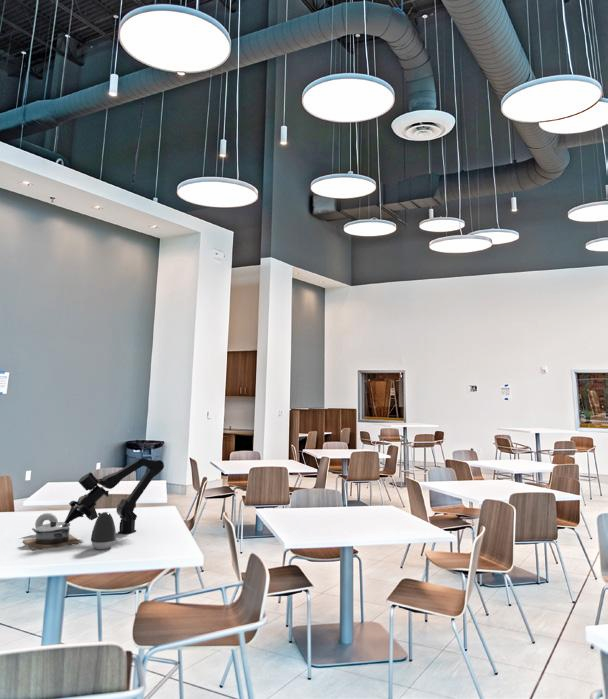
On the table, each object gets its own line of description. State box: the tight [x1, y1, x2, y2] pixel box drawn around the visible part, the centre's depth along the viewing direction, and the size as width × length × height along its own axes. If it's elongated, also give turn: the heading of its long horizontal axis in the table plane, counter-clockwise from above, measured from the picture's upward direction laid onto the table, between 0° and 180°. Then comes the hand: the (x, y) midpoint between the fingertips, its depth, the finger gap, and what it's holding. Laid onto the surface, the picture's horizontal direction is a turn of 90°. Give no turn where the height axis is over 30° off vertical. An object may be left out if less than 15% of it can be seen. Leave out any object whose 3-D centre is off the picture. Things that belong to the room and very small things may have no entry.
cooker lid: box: [31, 521, 71, 534], centre depth 229 cm, size 15×14×3 cm
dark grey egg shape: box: [90, 511, 117, 551], centre depth 221 cm, size 10×10×15 cm
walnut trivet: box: [22, 533, 83, 551], centre depth 229 cm, size 20×20×1 cm
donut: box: [34, 512, 59, 529], centre depth 246 cm, size 10×4×10 cm, turn 110°
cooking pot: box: [35, 526, 71, 545], centre depth 229 cm, size 14×22×5 cm, turn 40°
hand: (65, 523), depth 233 cm, fingers closed, pressing on cooker lid
